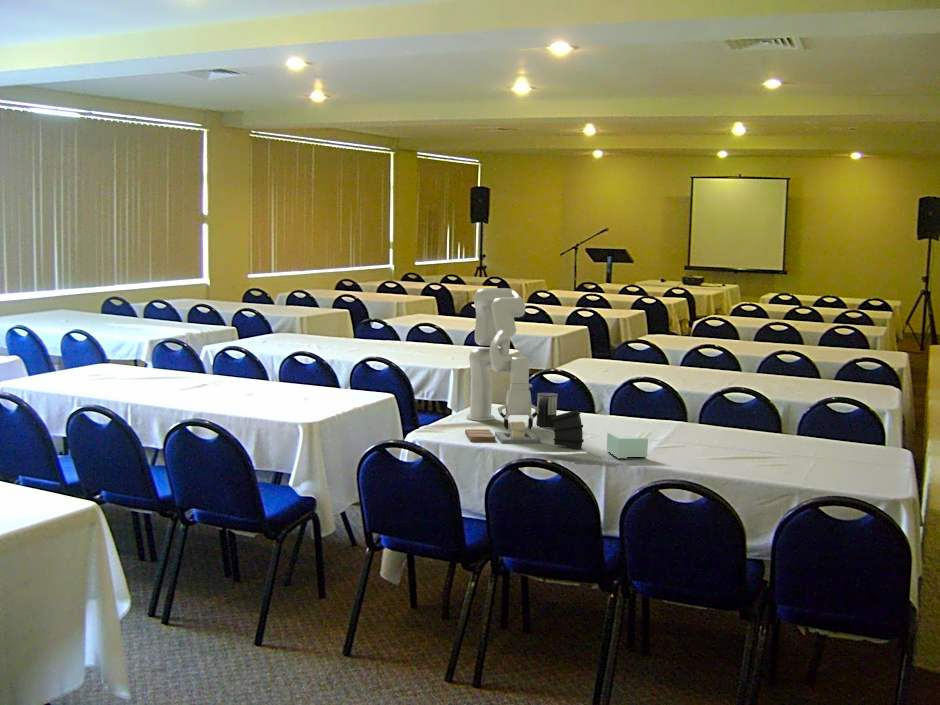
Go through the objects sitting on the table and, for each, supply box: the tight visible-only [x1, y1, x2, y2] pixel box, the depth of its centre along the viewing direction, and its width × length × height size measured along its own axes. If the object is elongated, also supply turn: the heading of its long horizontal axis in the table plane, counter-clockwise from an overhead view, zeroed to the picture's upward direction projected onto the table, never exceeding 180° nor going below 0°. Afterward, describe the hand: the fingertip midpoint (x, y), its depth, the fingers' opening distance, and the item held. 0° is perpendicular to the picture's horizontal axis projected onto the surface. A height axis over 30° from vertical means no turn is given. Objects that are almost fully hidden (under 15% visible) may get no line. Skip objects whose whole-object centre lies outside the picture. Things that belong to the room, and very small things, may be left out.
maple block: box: [509, 420, 526, 438], centre depth 414 cm, size 5×5×7 cm
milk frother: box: [535, 392, 559, 428], centre depth 439 cm, size 14×16×15 cm
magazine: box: [551, 409, 585, 450], centre depth 399 cm, size 4×13×15 cm, turn 65°
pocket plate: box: [494, 431, 542, 444], centre depth 414 cm, size 16×16×2 cm
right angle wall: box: [606, 432, 649, 459], centre depth 391 cm, size 12×12×8 cm
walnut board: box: [464, 428, 496, 443], centre depth 415 cm, size 16×10×2 cm, turn 8°
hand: (518, 428), depth 413 cm, fingers open, 9 cm apart
